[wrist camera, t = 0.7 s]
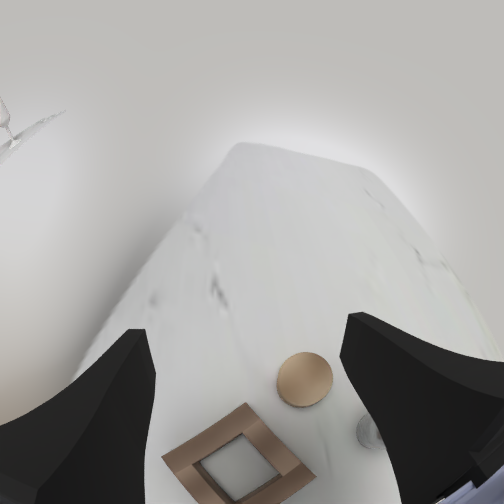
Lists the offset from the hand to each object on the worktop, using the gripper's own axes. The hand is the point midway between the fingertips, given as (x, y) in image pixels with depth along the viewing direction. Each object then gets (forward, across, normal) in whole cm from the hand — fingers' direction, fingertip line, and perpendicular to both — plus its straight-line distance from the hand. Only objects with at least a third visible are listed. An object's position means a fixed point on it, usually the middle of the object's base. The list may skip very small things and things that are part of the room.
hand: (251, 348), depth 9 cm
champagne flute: (+92, +86, -23) cm, 128 cm away
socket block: (+5, 0, +19) cm, 20 cm away
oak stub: (+11, -6, +14) cm, 19 cm away
